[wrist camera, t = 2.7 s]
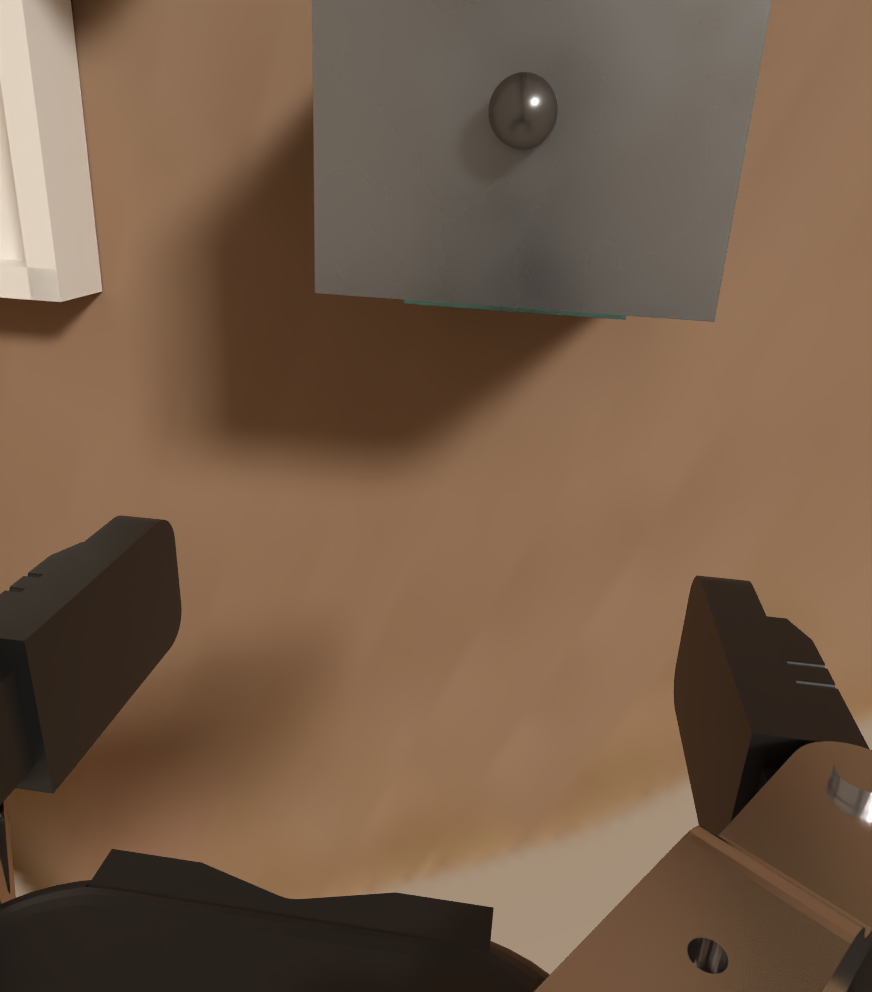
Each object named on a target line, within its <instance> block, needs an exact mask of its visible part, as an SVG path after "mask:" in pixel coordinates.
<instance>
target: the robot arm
mask: <svg viewBox="0 0 872 992" xmlns="http://www.w3.org/2000/svg"><path fill="white" fill-rule="evenodd" d="M180 621H181V598H180V588H179V578H178V567H177V557H176V547H175V537H174V532H173V529H172V526H171V525H170V523H169V522H168V521H166V520H160V519H150V518H140V517H130V516H117V517H115V518H114V519H112V520H111V521H110V522H109V523H107V524H106V525H105V526H104V527H102V528H101V529H100V530H99V531H97V532H96V533H95V534H94V535H92V536H91V537H90V538H88V539H87V540H86V541H85V542H81V543H79V544H76V545H74V546H72V547H69V548H67V549H65V550H62V551H60V552H58V553H55V554H53V555H51V556H49V557H48V558H47V559H45V560H44V561H43V562H41V563H40V564H39V565H38V566H36V567H35V568H34V569H32V570H31V571H30V572H28V576H23V577H22V578H21V579H19V580H18V581H17V582H16V583H14V584H13V585H12V586H10V590H9V591H4V592H3V593H1V594H0V992H872V750H870V749H869V747H868V745H867V744H866V742H865V740H864V738H863V736H862V734H861V732H860V730H859V728H858V726H857V724H856V723H855V721H854V719H853V717H852V715H851V713H850V711H849V709H848V707H847V705H846V703H845V702H844V700H843V698H842V696H841V694H840V692H839V690H838V689H835V683H834V681H833V679H832V677H831V675H830V673H829V671H828V669H825V663H824V662H823V660H822V658H821V656H820V654H819V652H818V650H817V648H816V646H815V644H814V642H813V641H812V640H811V639H810V638H809V637H808V636H807V635H805V634H804V633H803V632H802V631H801V630H799V629H798V628H797V627H796V626H795V625H793V624H792V623H791V622H790V621H789V620H787V619H785V618H776V617H767V616H766V614H765V612H764V610H763V607H762V605H761V603H760V601H759V599H758V596H757V594H756V592H755V590H754V588H753V585H752V584H751V582H750V581H744V580H735V579H725V578H715V577H705V576H696V577H695V578H694V580H693V583H692V586H691V589H690V594H689V599H688V605H687V610H686V615H685V620H684V626H683V631H682V636H681V641H680V647H679V652H678V657H677V663H676V668H675V678H674V705H675V712H676V716H677V721H678V726H679V731H680V736H681V740H682V745H683V750H684V755H685V760H686V765H687V769H688V774H689V779H690V784H691V789H692V793H693V798H694V803H695V808H696V813H697V818H698V822H699V826H697V827H695V828H693V829H692V830H690V831H689V832H688V833H687V834H686V835H685V836H684V837H683V838H682V839H681V840H680V841H679V842H678V843H677V844H676V845H675V846H674V847H673V848H672V849H671V850H670V851H669V852H668V853H667V854H666V855H665V856H664V857H663V858H662V859H661V860H660V861H659V863H657V865H656V866H655V867H654V868H653V869H652V870H651V871H650V872H649V873H648V874H647V875H646V876H645V877H644V878H643V879H642V880H641V881H640V882H639V883H638V884H637V885H636V886H635V887H634V888H633V889H632V891H631V892H630V893H629V894H628V895H627V896H626V897H625V898H624V899H623V900H622V901H621V902H620V903H619V904H618V905H617V906H616V907H615V908H614V909H613V910H612V911H611V912H610V913H609V914H608V915H607V916H606V917H605V919H603V920H602V922H601V923H600V924H599V925H598V926H597V927H596V928H595V929H594V930H593V931H592V932H591V933H590V934H589V935H588V936H587V937H586V938H585V939H584V940H583V941H582V942H581V943H580V944H579V945H578V946H577V948H575V950H574V951H573V952H572V953H571V954H570V955H569V956H568V957H567V958H566V959H565V960H564V961H563V962H562V963H561V964H560V965H559V966H558V967H557V968H556V969H555V970H554V971H553V972H552V973H551V974H550V975H549V974H548V973H547V972H545V971H544V970H542V969H541V968H540V967H538V966H537V965H536V964H534V963H533V962H531V961H529V960H528V959H526V958H524V957H522V956H520V955H519V954H517V953H515V952H513V951H512V950H510V949H508V948H506V947H503V946H501V945H499V944H496V943H494V942H491V941H490V940H491V929H492V918H493V908H492V907H486V906H479V905H473V904H466V903H460V902H453V901H446V900H440V899H434V898H427V897H421V896H414V895H408V894H401V893H383V894H369V895H354V896H340V897H326V898H312V899H288V898H284V897H281V896H278V895H276V894H273V893H271V892H269V891H266V890H264V889H262V888H259V887H257V886H255V885H252V884H250V883H248V882H245V881H243V880H241V879H238V878H236V877H234V876H231V875H229V874H227V873H224V872H222V871H220V870H217V869H215V868H213V867H210V866H208V865H206V864H203V863H200V862H193V861H187V860H180V859H174V858H167V857H161V856H154V855H148V854H141V853H135V852H128V851H122V850H115V849H112V850H111V851H110V853H109V854H108V856H107V857H106V859H105V860H104V862H103V863H102V865H101V867H100V868H99V870H98V871H97V873H96V874H95V876H94V877H93V879H92V880H87V881H78V882H73V883H67V884H61V885H56V886H52V887H49V888H45V889H41V890H38V891H34V892H31V893H28V894H25V895H23V896H20V897H17V898H16V896H15V884H14V872H13V861H12V849H11V837H10V825H9V817H8V812H7V807H6V803H5V799H6V798H7V797H8V796H9V794H10V793H11V792H12V791H13V790H14V789H15V788H20V789H27V790H33V791H40V792H47V793H54V792H55V791H56V789H57V788H58V787H59V786H60V784H61V783H62V782H63V781H64V779H65V778H66V777H67V776H68V775H69V773H70V772H71V771H72V770H73V768H74V767H75V766H76V765H77V763H78V762H79V761H80V760H81V758H82V757H83V756H84V755H85V753H86V752H87V751H88V750H89V748H90V747H91V746H92V745H93V743H94V742H95V741H96V740H97V738H98V737H99V736H100V735H101V733H102V732H103V731H104V730H105V729H106V727H107V726H108V725H109V724H110V722H111V721H112V720H113V719H114V717H115V716H116V715H117V714H118V712H119V711H120V710H121V709H122V707H123V706H124V705H125V704H126V702H127V701H128V700H129V699H130V697H131V696H132V695H133V694H134V692H135V691H136V690H137V689H138V687H139V686H140V685H141V684H142V683H143V681H144V680H145V679H146V678H147V676H148V675H149V674H150V673H151V671H152V670H153V669H154V668H155V666H156V665H157V664H158V663H159V661H160V660H161V659H162V658H163V656H164V655H165V654H166V653H167V651H168V650H169V649H170V648H171V646H172V645H173V643H174V641H175V639H176V636H177V634H178V630H179V627H180Z"/></svg>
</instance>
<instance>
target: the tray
mask: <svg viewBox="0 0 872 992" xmlns="http://www.w3.org/2000/svg"><path fill="white" fill-rule="evenodd" d="M98 292H102V284H101V275H100V266H99V256H98V247H97V238H96V229H95V219H94V210H93V201H92V192H91V182H90V173H89V164H88V155H87V146H86V136H85V127H84V118H83V109H82V99H81V90H80V81H79V72H78V62H77V53H76V44H75V35H74V25H73V16H72V7H71V0H0V297H1V298H14V299H27V300H40V301H53V302H63V301H67V300H71V299H75V298H79V297H82V296H86V295H90V294H94V293H98Z"/></svg>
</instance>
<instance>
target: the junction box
mask: <svg viewBox="0 0 872 992" xmlns="http://www.w3.org/2000/svg"><path fill="white" fill-rule="evenodd" d="M771 3H772V0H312V28H313V138H314V248H315V293H319V294H333V295H347V296H361V297H375V298H389V299H403V300H404V302H403V304H415V305H429V306H443V307H457V308H471V309H484V310H498V311H512V312H526V313H540V314H553V315H567V316H581V317H595V318H609V319H622V320H625V319H626V316H639V317H653V318H667V319H681V320H695V321H709V322H714V320H715V315H716V309H717V303H718V298H719V292H720V287H721V281H722V276H723V270H724V264H725V259H726V253H727V248H728V242H729V237H730V231H731V225H732V220H733V214H734V209H735V203H736V198H737V192H738V186H739V181H740V175H741V170H742V164H743V159H744V153H745V147H746V142H747V136H748V131H749V125H750V120H751V114H752V108H753V103H754V97H755V92H756V86H757V81H758V75H759V69H760V64H761V58H762V53H763V47H764V42H765V36H766V30H767V25H768V19H769V14H770V8H771Z"/></svg>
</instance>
